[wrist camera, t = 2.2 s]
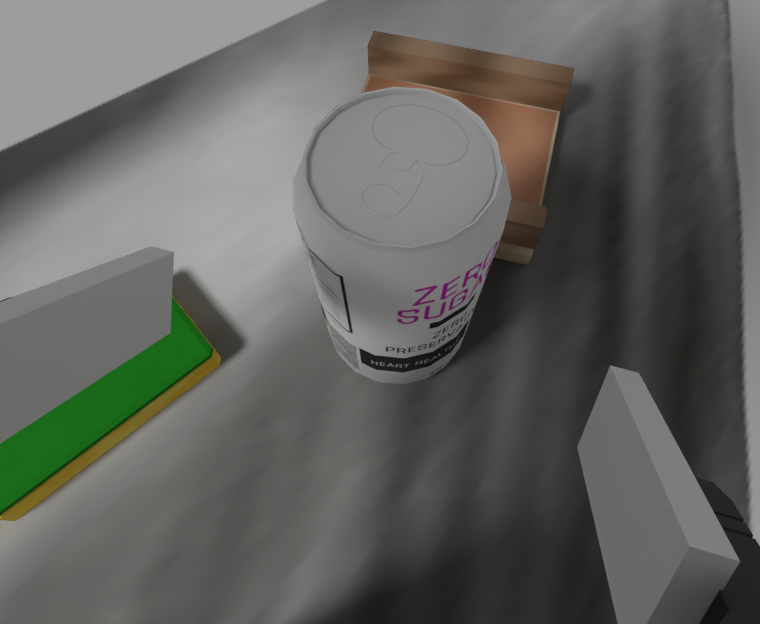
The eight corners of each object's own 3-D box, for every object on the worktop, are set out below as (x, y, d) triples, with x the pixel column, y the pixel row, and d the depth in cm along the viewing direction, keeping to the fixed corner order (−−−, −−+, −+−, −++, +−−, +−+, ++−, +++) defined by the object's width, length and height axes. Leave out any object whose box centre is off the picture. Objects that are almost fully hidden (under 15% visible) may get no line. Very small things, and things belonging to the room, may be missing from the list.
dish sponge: (-39, 425, 31) (-73, 416, 28) (165, 284, 34) (149, 266, 32) (13, 525, 28) (-19, 524, 26) (226, 364, 32) (214, 350, 30)
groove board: (319, 216, 35) (312, 183, 32) (376, 67, 41) (375, 26, 37) (527, 265, 34) (542, 235, 30) (559, 103, 39) (575, 62, 36)
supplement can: (367, 244, 34) (352, 49, 21) (484, 295, 33) (553, 120, 19) (305, 350, 32) (240, 205, 18) (430, 411, 30) (465, 303, 16)
